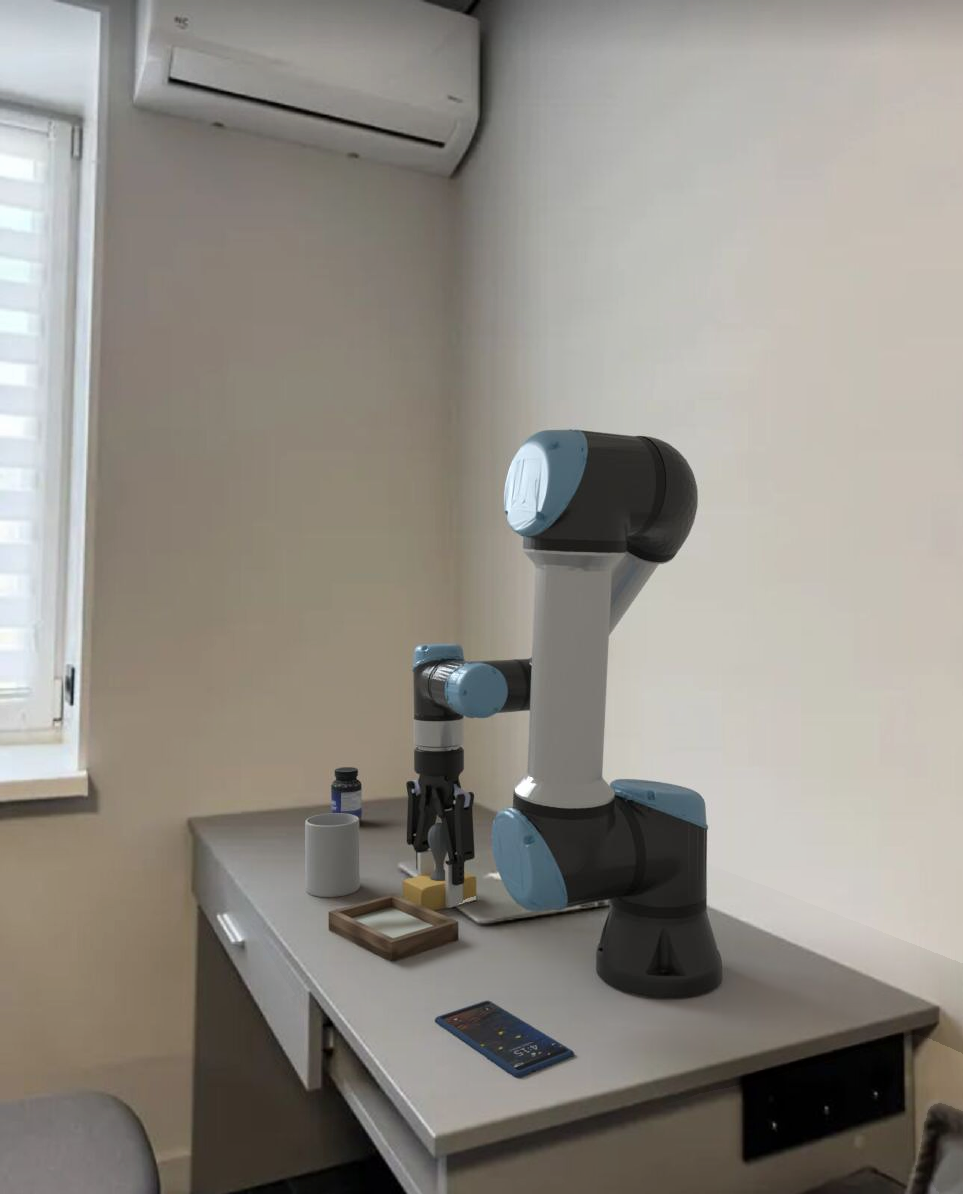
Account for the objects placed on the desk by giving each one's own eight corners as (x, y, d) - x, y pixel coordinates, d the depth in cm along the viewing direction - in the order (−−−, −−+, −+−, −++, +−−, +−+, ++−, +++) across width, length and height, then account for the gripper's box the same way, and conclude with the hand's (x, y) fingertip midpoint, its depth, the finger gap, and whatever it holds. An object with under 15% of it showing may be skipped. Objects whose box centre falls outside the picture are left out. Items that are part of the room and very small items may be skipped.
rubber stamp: (422, 914, 133) (421, 832, 133) (401, 904, 138) (401, 824, 138) (477, 900, 139) (477, 821, 139) (456, 890, 144) (455, 814, 144)
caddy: (458, 940, 124) (458, 921, 124) (391, 962, 116) (391, 942, 116) (393, 911, 135) (393, 894, 135) (328, 929, 128) (328, 911, 128)
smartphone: (488, 998, 105) (576, 1051, 93) (488, 1005, 105) (576, 1059, 93) (432, 1016, 101) (517, 1074, 88) (432, 1024, 101) (517, 1083, 88)
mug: (364, 893, 143) (364, 823, 143) (309, 900, 140) (309, 828, 140) (349, 871, 154) (349, 806, 154) (298, 877, 151) (298, 810, 151)
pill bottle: (329, 821, 188) (328, 767, 188) (359, 818, 190) (358, 765, 190) (333, 828, 182) (333, 772, 182) (364, 825, 184) (363, 770, 184)
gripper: (499, 751, 134) (500, 910, 134) (420, 736, 148) (421, 879, 148) (460, 757, 129) (461, 922, 129) (382, 741, 143) (383, 889, 144)
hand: (439, 899), depth 139 cm, fingers closed on rubber stamp, 6 cm apart
